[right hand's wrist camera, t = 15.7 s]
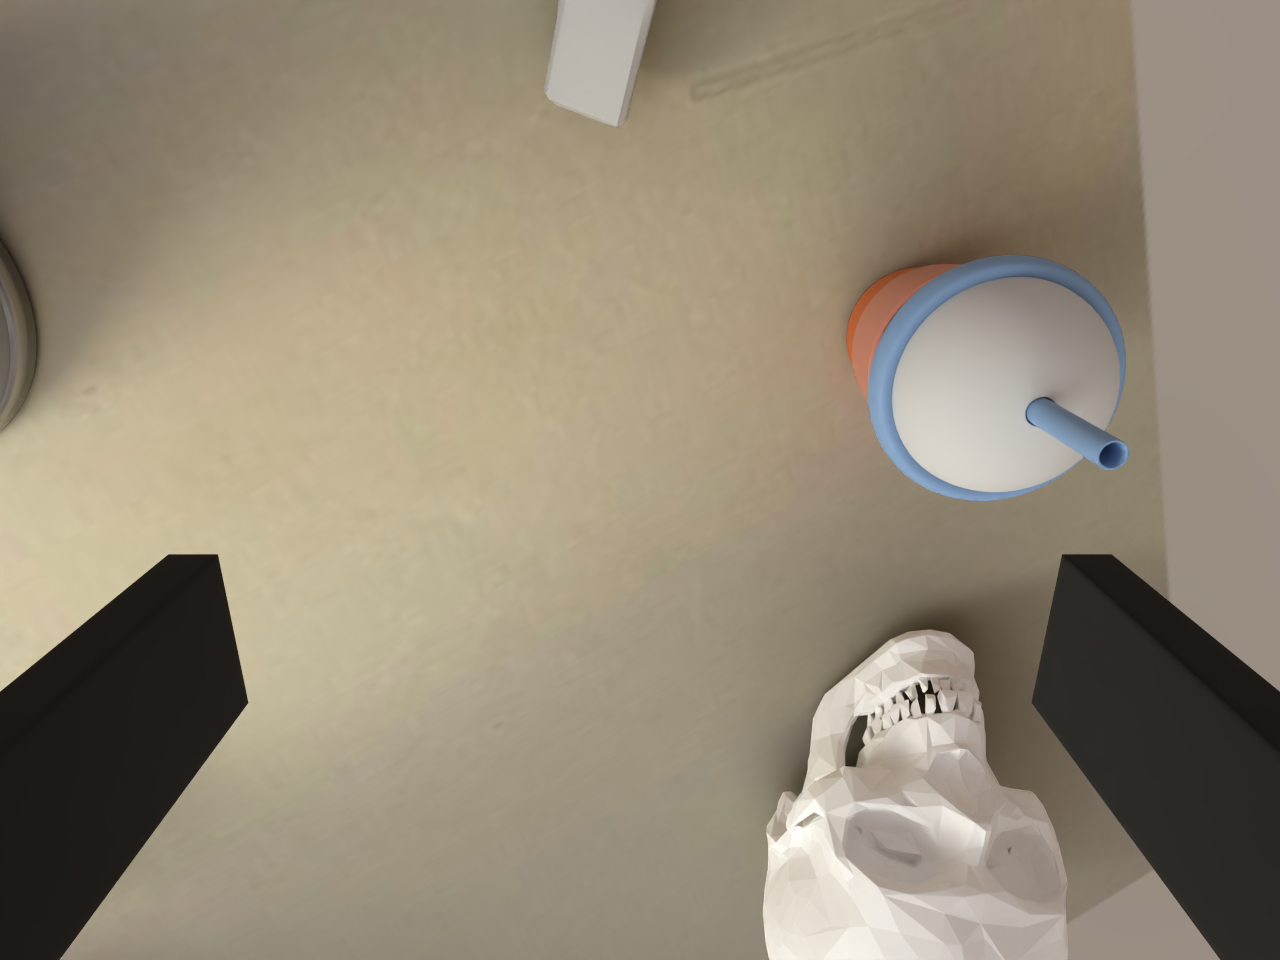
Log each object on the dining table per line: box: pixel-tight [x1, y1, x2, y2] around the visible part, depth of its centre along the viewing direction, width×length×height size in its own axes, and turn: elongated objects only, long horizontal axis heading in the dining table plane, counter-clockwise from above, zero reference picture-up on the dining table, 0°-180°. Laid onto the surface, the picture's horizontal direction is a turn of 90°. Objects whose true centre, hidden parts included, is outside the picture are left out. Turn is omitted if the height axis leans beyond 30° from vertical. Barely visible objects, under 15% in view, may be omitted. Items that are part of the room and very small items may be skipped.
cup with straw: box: [846, 255, 1129, 501], centre depth 31 cm, size 9×9×18 cm
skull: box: [763, 629, 1068, 960], centre depth 41 cm, size 13×22×16 cm, turn 175°
